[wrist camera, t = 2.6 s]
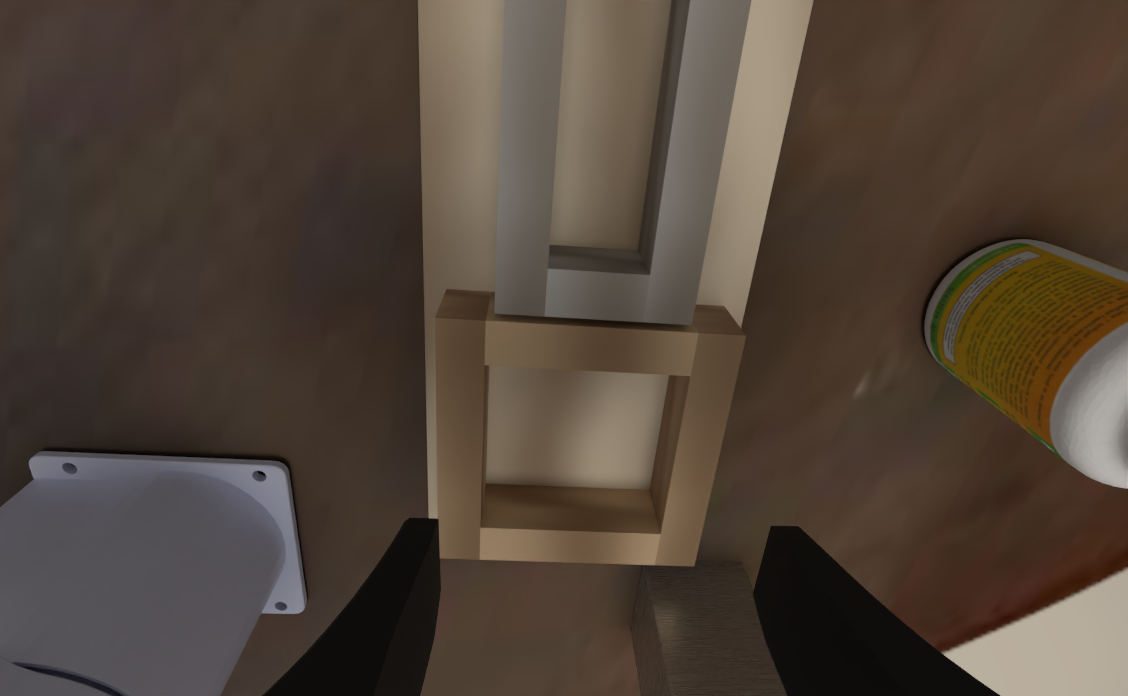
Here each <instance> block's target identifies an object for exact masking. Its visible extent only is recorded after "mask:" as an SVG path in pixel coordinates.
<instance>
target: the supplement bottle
mask: <svg viewBox="0 0 1128 696" xmlns="http://www.w3.org/2000/svg"><path fill="white" fill-rule="evenodd" d="M924 332H925V339H926V343H927V346H928V349H929V351H930V352H931V354H932V356H933V357H934V358H935V360H936V361H937V362H938V363H939V364H940V365H941V366H943V367H944V368H945V369H946V370H947V371H948V372H950V373H951V374H952V375H954V376H955V377H956V378H958V379H959V380H960V381H962V382H963V383H964V384H966V385H967V386H968V387H970V388H971V389H972V390H974V391H975V392H976V393H977V394H979V395H980V396H981V397H983V398H984V399H985V400H987V401H988V402H990V403H991V404H992V405H993V406H995V407H996V408H997V409H999V410H1000V411H1001V412H1003V413H1004V414H1005V415H1006V416H1008V417H1009V418H1010V419H1012V420H1013V421H1014V422H1016V423H1017V424H1018V425H1020V426H1021V427H1022V428H1024V429H1025V430H1026V431H1027V432H1029V433H1030V434H1031V435H1033V436H1034V437H1035V438H1036V439H1038V440H1039V441H1040V442H1041V443H1043V444H1044V445H1045V446H1047V447H1048V448H1049V449H1051V450H1052V451H1053V452H1054V453H1056V454H1057V455H1058V456H1059V457H1061V458H1062V459H1063V460H1065V461H1066V462H1067V463H1069V464H1070V465H1071V466H1073V467H1074V468H1076V469H1077V470H1078V471H1080V472H1081V473H1083V474H1084V475H1086V476H1088V477H1090V478H1092V479H1094V480H1096V481H1099V482H1101V483H1104V484H1108V485H1112V486H1116V487H1120V488H1128V272H1126V271H1123V270H1121V269H1118V268H1115V267H1112V266H1110V265H1107V264H1105V263H1102V262H1099V261H1096V260H1094V259H1091V258H1089V257H1086V256H1083V255H1080V254H1078V253H1075V252H1072V251H1070V250H1067V249H1064V248H1061V247H1058V246H1055V245H1052V244H1048V243H1045V242H1042V241H1037V240H1029V239H1017V240H1010V241H1004V242H1000V243H997V244H994V245H991V246H988V247H986V248H984V249H981V250H979V251H977V252H976V253H974V254H972V255H971V256H969V257H967V258H966V259H964V260H963V261H962V262H960V263H959V264H958V265H957V266H955V267H954V268H953V269H952V270H951V271H950V272H949V273H948V274H947V275H946V276H945V277H944V279H943V280H942V281H941V283H940V284H939V285H938V287H937V289H936V290H935V292H934V294H933V296H932V298H931V300H930V302H929V305H928V308H927V311H926V316H925V322H924Z"/></svg>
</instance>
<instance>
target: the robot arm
mask: <svg viewBox="0 0 1128 696" xmlns="http://www.w3.org/2000/svg"><path fill="white" fill-rule="evenodd" d="M71 464H73V465H75V466H76V467H74V466H72V465H71ZM29 467H30V470H31V473H32V476H33V478H34V480H32V481H31V482H30V483H29V484H28V485H26V486H25V487H24V488H23V489H22V490H20V491H19V492H18V493H17V494H16V495H14V496H13V497H12V498H11V499H10V500H8V501H7V502H6V503H5V504H4V505H2V506H1V507H0V696H220V695H221V693H222V691H223V689H224V687H225V685H226V683H227V681H228V679H229V677H230V675H231V673H232V671H233V669H234V667H235V665H236V663H237V661H238V659H239V657H240V655H241V653H242V651H243V649H244V647H245V645H246V643H247V641H248V639H249V637H250V635H251V633H252V631H253V629H254V627H255V625H256V623H257V621H258V619H259V617H260V615H261V613H275V614H298V613H300V612H302V611H303V610H304V609H305V606H306V604H307V596H306V589H305V582H304V575H303V568H302V560H301V553H300V546H299V539H298V532H297V525H296V517H295V510H294V503H293V496H292V489H291V482H290V475H289V470H288V468H287V467H286V466H285V465H284V464H283V463H281V462H278V461H268V460H244V459H220V458H197V457H173V456H149V455H125V454H101V453H77V452H53V451H42V452H39V453H37V454H36V455H34V456H33V457H32V458H30V460H29ZM257 471H262V472H264V473H265V475H261V474H259V473H258V472H257ZM440 592H441V582H440V548H439V519H436V518H409V519H408V520H406V521H405V522H404V524H403V525H402V527H401V529H400V531H399V532H398V534H397V535H396V537H395V539H394V540H393V542H392V543H391V545H390V547H389V548H388V550H387V551H386V553H385V554H384V556H383V557H382V558H381V560H380V561H379V563H378V564H377V566H376V567H375V569H374V570H373V571H372V573H371V574H370V575H369V577H368V578H367V579H366V581H365V582H364V583H363V585H362V586H361V587H360V589H359V590H358V592H357V593H356V594H355V595H354V597H353V598H352V599H351V601H350V602H349V603H348V604H347V605H346V607H345V608H344V609H343V610H342V611H341V613H340V614H339V615H338V616H337V618H336V619H335V620H334V621H333V622H332V624H331V625H330V626H329V627H328V628H327V630H326V631H325V632H324V633H323V634H322V635H321V636H320V637H319V639H318V640H317V641H316V642H315V643H314V644H313V645H312V646H311V647H310V648H309V650H308V651H307V652H306V653H305V654H304V655H303V656H302V657H301V658H300V659H299V660H298V661H297V662H296V663H295V664H294V665H293V666H292V667H291V668H290V669H289V670H288V671H287V672H286V673H285V674H284V675H283V676H282V677H281V678H280V679H279V680H278V681H277V682H276V683H275V684H274V685H273V686H272V687H271V688H270V689H269V690H268V691H267V692H266V693H264V694H263V695H262V696H420V694H421V690H422V686H423V682H424V678H425V674H426V670H427V666H428V662H429V657H430V653H431V649H432V645H433V641H434V636H435V629H436V622H437V615H438V607H439V600H440ZM753 598H754V601H755V605H756V609H757V613H758V617H759V621H760V624H761V628H762V631H763V635H764V638H765V642H766V644H767V647H768V649H769V652H770V655H771V657H772V660H773V662H774V664H775V667H776V669H777V672H778V674H779V677H780V679H781V682H782V684H783V687H784V689H785V692H786V694H787V696H1000V695H999V694H997V693H996V692H994V691H993V690H991V689H990V688H988V687H987V686H985V685H984V684H983V683H981V682H980V681H978V680H977V679H975V678H974V677H972V676H971V675H970V674H969V673H967V672H966V671H965V670H963V669H962V668H961V667H959V666H958V665H956V664H955V663H954V662H952V661H951V660H949V659H948V658H947V657H946V656H944V655H943V654H942V653H940V652H939V651H938V650H936V649H935V648H934V647H933V646H931V645H930V644H929V643H928V642H926V641H925V640H924V639H923V638H921V637H920V636H919V635H918V634H917V633H915V632H914V631H913V630H912V629H911V628H909V627H908V626H907V625H906V624H905V623H903V622H902V621H901V620H900V619H899V618H897V617H896V616H895V615H894V614H893V613H892V612H890V611H889V610H888V609H887V608H886V607H885V606H884V605H882V604H881V603H880V602H879V601H878V600H877V599H876V598H875V597H873V596H872V595H871V594H870V593H869V592H868V591H867V590H866V589H865V588H864V587H862V586H861V585H860V584H859V583H858V582H857V581H856V580H855V579H854V578H853V577H852V576H851V575H850V574H848V573H847V572H846V571H845V570H844V569H843V568H842V567H841V566H840V565H839V564H838V563H837V562H836V561H835V560H834V559H833V558H832V557H831V556H829V555H828V554H827V553H826V552H825V551H824V550H823V549H822V548H821V547H820V546H819V545H818V544H817V543H816V542H815V541H814V540H813V539H812V538H810V537H809V536H808V535H807V534H806V533H805V532H804V531H803V530H802V529H801V528H799V527H798V526H771V528H770V532H769V536H768V539H767V543H766V547H765V551H764V554H763V558H762V562H761V566H760V569H759V573H758V577H757V581H756V584H755V588H754V592H753ZM282 602H283V603H282Z"/></svg>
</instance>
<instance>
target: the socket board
mask: <svg viewBox="0 0 1128 696" xmlns="http://www.w3.org/2000/svg"><path fill="white" fill-rule="evenodd" d="M812 4H813V0H418V27H419V75H420V123H421V171H422V220H423V268H424V316H425V364H426V413H427V461H428V509H429V518H436V519H439V548H440V558H447V559H478V560H509V561H540V562H571V563H602V564H633V565H664V566H694V565H695V561H696V557H697V552H698V548H699V543H700V539H701V534H702V530H703V526H704V521H705V517H706V512H707V508H708V504H709V499H710V495H711V490H712V486H713V481H714V477H715V473H716V468H717V464H718V459H719V455H720V451H721V446H722V442H723V437H724V433H725V428H726V424H727V420H728V415H729V411H730V406H731V402H732V398H733V393H734V389H735V384H736V380H737V375H738V371H739V367H740V362H741V358H742V353H743V349H744V345H745V340H746V335H745V333H744V332H743V331H742V329H741V326H742V321H743V317H744V312H745V308H746V303H747V299H748V294H749V290H750V285H751V280H752V276H753V271H754V267H755V262H756V258H757V253H758V249H759V244H760V240H761V235H762V231H763V226H764V222H765V217H766V213H767V208H768V204H769V199H770V194H771V190H772V185H773V181H774V176H775V172H776V167H777V163H778V158H779V154H780V149H781V145H782V140H783V136H784V131H785V127H786V122H787V117H788V113H789V108H790V104H791V99H792V95H793V90H794V86H795V81H796V77H797V72H798V68H799V63H800V59H801V54H802V50H803V45H804V41H805V36H806V31H807V27H808V22H809V18H810V13H811V9H812Z"/></svg>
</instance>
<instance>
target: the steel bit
mask: <svg viewBox="0 0 1128 696" xmlns="http://www.w3.org/2000/svg"><path fill="white" fill-rule="evenodd" d="M753 592H754V590H753V588H752V585H751V583H750V580H749V578H748V575H747V573H746V570H745V568H744V565H743V563H736V562H705V561H695V565H694V566H664V565H642V570H641V576H640V582H639V587H638V593H637V599H636V604H635V610H634V616H633V621H632V627H631V635H632V642H633V648H634V654H635V661H636V667H637V673H638V680H639V686H640V693H641V696H787V694H786V692H785V689H784V687H783V684H782V682H781V679H780V677H779V674H778V672H777V669H776V667H775V664H774V662H773V660H772V657H771V655H770V652H769V649H768V647H767V644H766V642H765V638H764V635H763V631H762V628H761V624H760V621H759V617H758V613H757V609H756V605H755V601H754V598H753Z"/></svg>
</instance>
